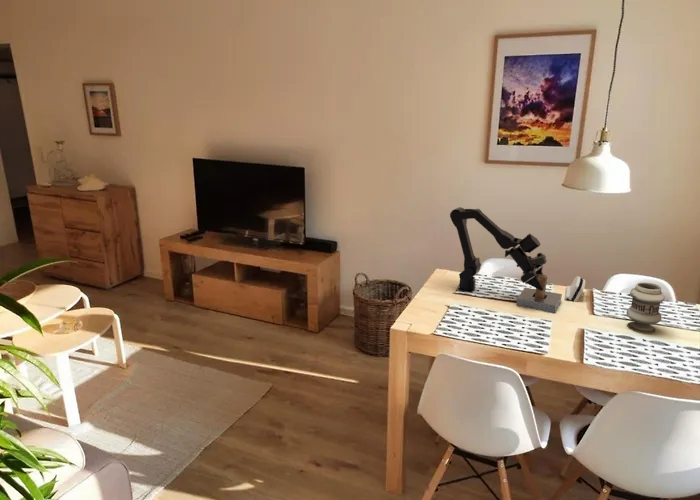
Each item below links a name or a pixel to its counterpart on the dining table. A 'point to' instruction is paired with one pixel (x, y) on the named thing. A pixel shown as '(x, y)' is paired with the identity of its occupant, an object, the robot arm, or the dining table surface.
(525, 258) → the robot arm
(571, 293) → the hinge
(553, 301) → the grey slotted block
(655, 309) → the apothecary jar
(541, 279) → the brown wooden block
